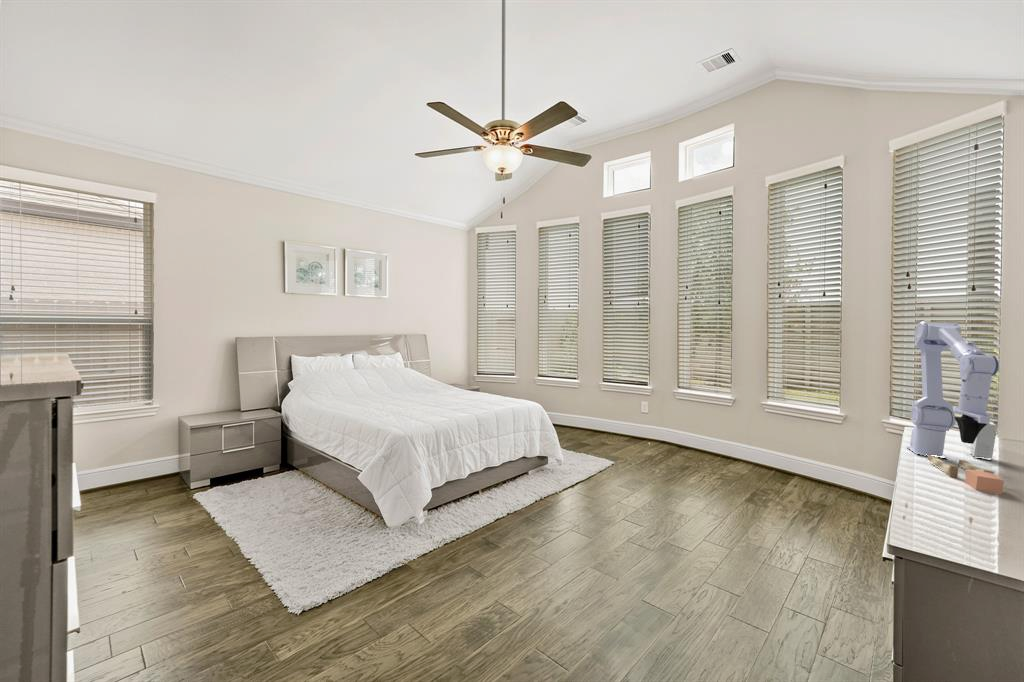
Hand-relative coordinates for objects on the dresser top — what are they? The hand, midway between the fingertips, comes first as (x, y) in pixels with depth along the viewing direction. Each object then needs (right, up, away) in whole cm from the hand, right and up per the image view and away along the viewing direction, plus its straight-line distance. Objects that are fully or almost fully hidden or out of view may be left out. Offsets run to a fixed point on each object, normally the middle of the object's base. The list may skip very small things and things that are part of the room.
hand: (967, 442), depth 128 cm
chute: (0, -9, +3) cm, 10 cm away
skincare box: (+24, -10, +19) cm, 32 cm away
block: (-6, -10, -10) cm, 15 cm away
